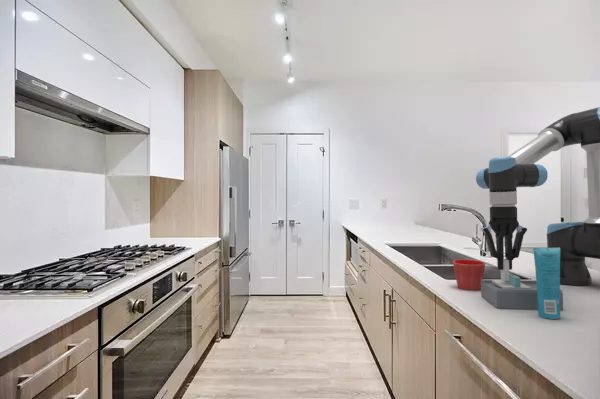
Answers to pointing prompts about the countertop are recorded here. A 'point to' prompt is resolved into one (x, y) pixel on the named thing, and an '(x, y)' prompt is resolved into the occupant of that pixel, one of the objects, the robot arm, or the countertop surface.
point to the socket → (513, 296)
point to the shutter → (511, 283)
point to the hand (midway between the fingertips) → (505, 279)
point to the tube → (548, 281)
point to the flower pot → (469, 273)
